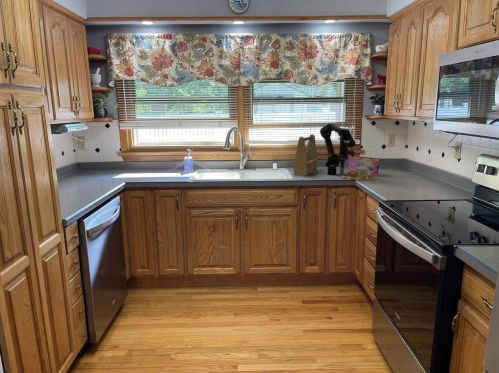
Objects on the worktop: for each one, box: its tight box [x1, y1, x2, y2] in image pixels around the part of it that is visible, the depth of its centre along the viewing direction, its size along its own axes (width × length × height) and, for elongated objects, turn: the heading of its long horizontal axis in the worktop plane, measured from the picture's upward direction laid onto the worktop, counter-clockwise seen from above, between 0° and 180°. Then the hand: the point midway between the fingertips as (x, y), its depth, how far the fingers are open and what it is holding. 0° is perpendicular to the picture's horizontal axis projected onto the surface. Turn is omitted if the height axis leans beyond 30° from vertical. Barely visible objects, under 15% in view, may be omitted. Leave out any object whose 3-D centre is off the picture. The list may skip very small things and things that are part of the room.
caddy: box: [293, 134, 318, 177], centre depth 300 cm, size 29×11×30 cm, turn 154°
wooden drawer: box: [339, 163, 358, 177], centre depth 283 cm, size 13×8×8 cm, turn 78°
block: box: [350, 169, 356, 174], centre depth 282 cm, size 4×4×4 cm
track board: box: [341, 175, 374, 181], centre depth 282 cm, size 22×12×2 cm, turn 77°
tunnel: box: [357, 166, 368, 178], centre depth 281 cm, size 7×12×7 cm, turn 167°
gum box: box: [347, 155, 381, 177], centre depth 298 cm, size 24×8×14 cm, turn 45°
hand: (342, 166), depth 283 cm, fingers open, 9 cm apart
